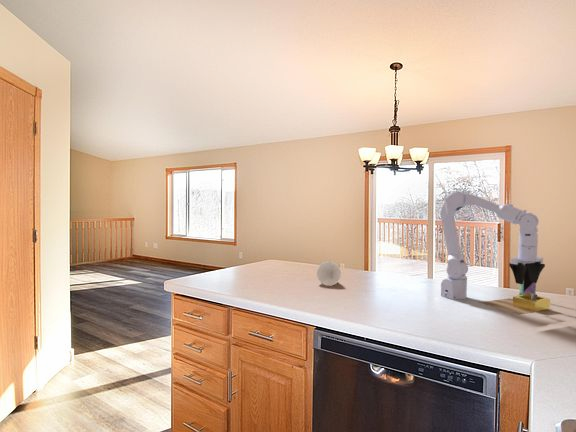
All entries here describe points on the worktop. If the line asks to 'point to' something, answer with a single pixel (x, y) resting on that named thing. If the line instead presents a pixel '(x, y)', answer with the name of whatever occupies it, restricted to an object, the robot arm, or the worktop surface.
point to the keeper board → (510, 305)
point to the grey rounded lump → (328, 273)
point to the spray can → (527, 284)
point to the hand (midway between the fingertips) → (526, 283)
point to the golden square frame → (531, 302)
